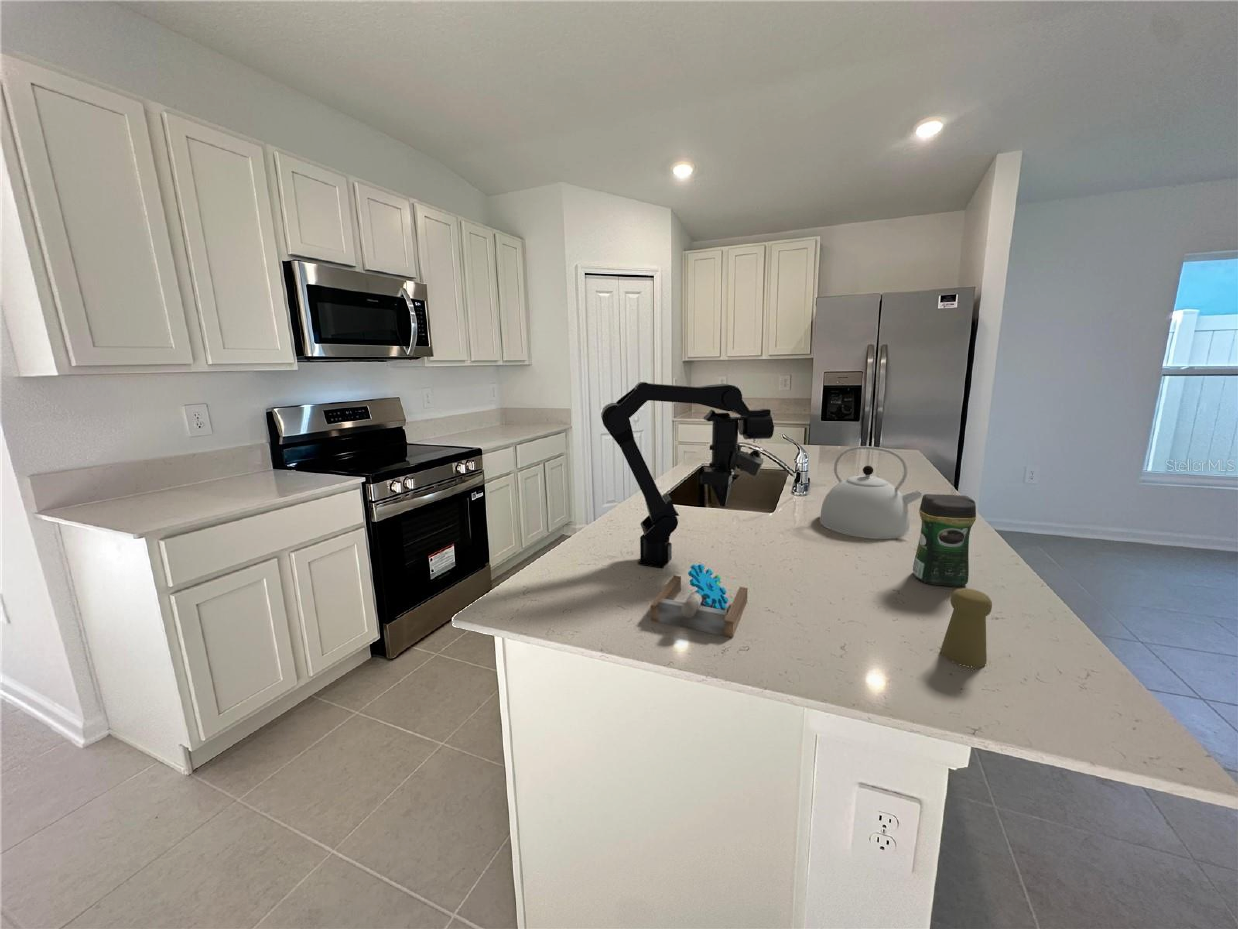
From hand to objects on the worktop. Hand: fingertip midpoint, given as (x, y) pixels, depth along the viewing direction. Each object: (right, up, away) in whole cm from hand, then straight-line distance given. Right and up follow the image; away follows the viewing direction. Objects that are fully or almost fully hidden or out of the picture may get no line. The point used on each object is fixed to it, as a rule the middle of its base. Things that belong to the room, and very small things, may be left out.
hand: (723, 506), depth 113 cm
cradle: (-9, -18, -21) cm, 29 cm away
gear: (-7, -18, -18) cm, 26 cm away
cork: (+30, -21, -36) cm, 52 cm away
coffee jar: (+44, -15, -10) cm, 47 cm away
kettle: (+46, -8, +24) cm, 52 cm away
